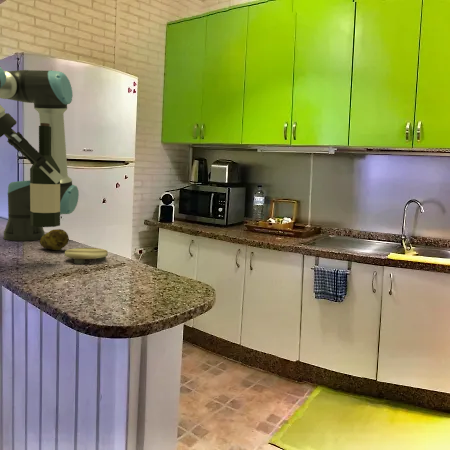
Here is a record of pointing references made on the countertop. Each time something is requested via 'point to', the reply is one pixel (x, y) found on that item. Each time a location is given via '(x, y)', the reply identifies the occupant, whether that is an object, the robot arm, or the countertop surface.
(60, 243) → the potato
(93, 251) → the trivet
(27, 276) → the countertop surface
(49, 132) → the wine bottle
